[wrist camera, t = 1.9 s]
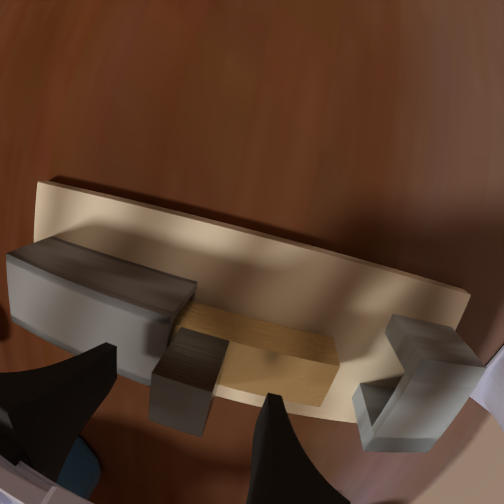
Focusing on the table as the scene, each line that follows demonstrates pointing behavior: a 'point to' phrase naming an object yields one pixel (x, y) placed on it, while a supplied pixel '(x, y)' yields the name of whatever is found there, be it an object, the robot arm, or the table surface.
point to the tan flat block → (235, 365)
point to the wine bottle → (80, 470)
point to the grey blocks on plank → (245, 307)
